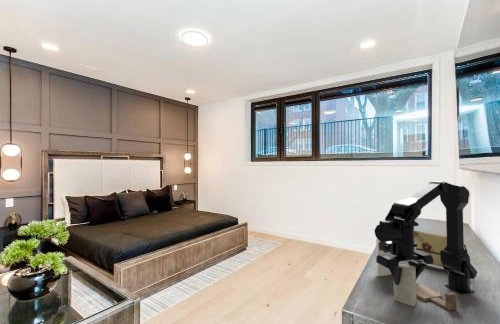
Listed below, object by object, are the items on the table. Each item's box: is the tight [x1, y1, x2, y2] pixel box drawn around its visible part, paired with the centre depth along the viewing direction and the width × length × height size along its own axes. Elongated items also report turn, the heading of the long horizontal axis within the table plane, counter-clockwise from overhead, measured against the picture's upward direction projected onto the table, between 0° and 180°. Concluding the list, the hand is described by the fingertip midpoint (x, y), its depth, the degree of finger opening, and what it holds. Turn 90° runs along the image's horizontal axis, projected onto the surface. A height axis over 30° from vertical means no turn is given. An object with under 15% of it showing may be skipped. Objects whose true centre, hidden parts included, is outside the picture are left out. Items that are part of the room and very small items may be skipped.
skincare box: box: [392, 263, 418, 307], centre depth 86 cm, size 6×4×12 cm
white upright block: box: [375, 238, 416, 277], centre depth 102 cm, size 11×9×16 cm
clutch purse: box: [414, 229, 468, 273], centre depth 116 cm, size 30×7×15 cm, turn 39°
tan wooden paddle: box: [416, 284, 457, 312], centre depth 87 cm, size 8×15×5 cm, turn 13°
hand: (404, 283), depth 86 cm, fingers closed on skincare box, 6 cm apart
